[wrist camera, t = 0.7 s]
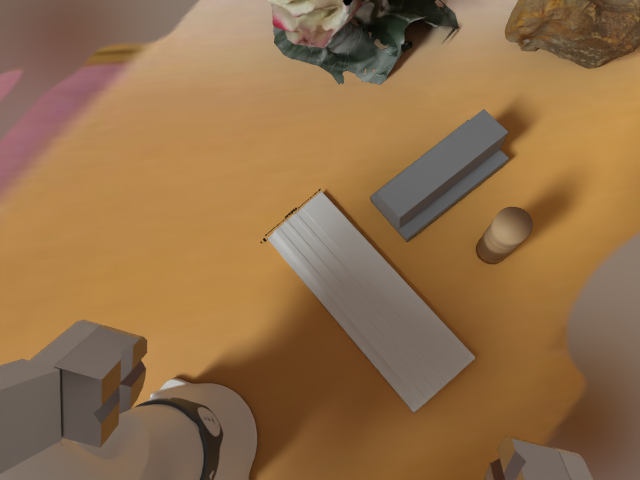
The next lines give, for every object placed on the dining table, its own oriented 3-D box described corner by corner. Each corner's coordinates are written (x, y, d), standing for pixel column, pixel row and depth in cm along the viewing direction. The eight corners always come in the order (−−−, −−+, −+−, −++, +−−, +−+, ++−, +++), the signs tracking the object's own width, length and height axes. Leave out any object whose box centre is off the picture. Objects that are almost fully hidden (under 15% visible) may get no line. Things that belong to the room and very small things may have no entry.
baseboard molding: (404, 419, 59) (473, 357, 60) (405, 422, 56) (477, 357, 57) (261, 246, 68) (322, 194, 69) (255, 240, 66) (319, 187, 66)
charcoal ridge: (407, 242, 65) (408, 228, 58) (370, 201, 67) (368, 183, 60) (505, 164, 65) (518, 141, 59) (466, 126, 68) (474, 100, 61)
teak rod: (490, 270, 62) (512, 248, 50) (469, 247, 63) (486, 221, 52) (513, 251, 62) (540, 226, 51) (492, 229, 63) (514, 199, 52)
